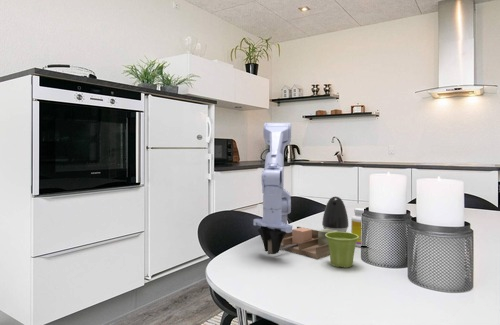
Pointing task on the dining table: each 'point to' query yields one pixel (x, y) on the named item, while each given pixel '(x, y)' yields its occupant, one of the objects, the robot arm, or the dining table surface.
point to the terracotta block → (295, 238)
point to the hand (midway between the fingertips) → (271, 251)
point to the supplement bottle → (357, 224)
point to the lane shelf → (310, 244)
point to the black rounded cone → (335, 215)
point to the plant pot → (341, 248)
